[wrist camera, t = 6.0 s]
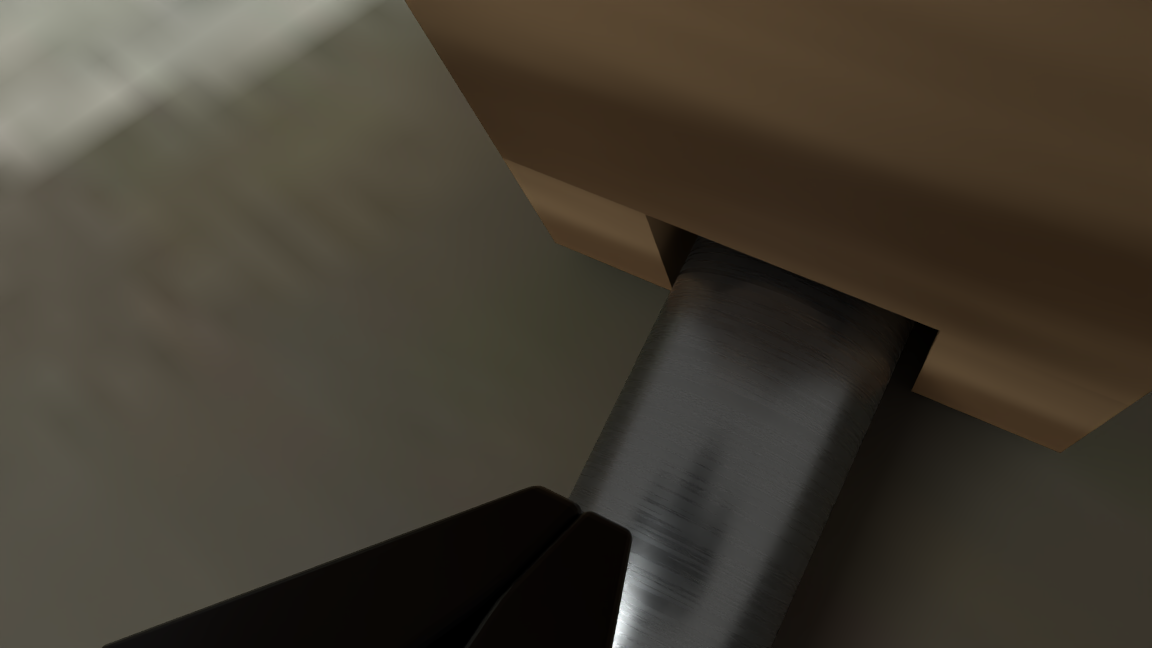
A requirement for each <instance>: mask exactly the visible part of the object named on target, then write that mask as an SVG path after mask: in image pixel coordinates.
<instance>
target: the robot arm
mask: <svg viewBox="0 0 1152 648" xmlns="http://www.w3.org/2000/svg"><path fill="white" fill-rule="evenodd" d="M631 545H632V533H631V532H630V530H628V529H627V528H625V527H623V526H621V525H619V524H617V523H615V522H613V521H611V520H609V519H607V518H605V517H603V516H601V515H599V514H597V513H595V512H592V511H588V512H584V513H583V511H582V509H581V508H580V506H579V505H578V504H577V503H575V502H573V501H571V500H569V499H567V498H565V497H563V496H561V495H559V494H557V493H555V492H553V491H551V490H549V489H547V488H545V487H542V486H531V487H528V488H525V489H522V490H520V491H517V492H514V493H512V494H509V495H506V496H504V497H501V498H498V499H496V500H493V501H490V502H488V503H485V504H482V505H480V506H477V507H474V508H471V509H469V510H466V511H463V512H461V513H458V514H455V515H453V516H450V517H447V518H445V519H442V520H439V521H437V522H434V523H431V524H429V525H426V526H423V527H420V528H418V529H415V530H412V531H410V532H407V533H404V534H402V535H399V536H396V537H394V538H391V539H388V540H386V541H383V542H380V543H378V544H375V545H372V546H369V547H367V548H364V549H361V550H359V551H356V552H353V553H351V554H348V555H345V556H343V557H340V558H337V559H335V560H332V561H329V562H326V563H324V564H321V565H318V566H316V567H313V568H310V569H308V570H305V571H302V572H300V573H297V574H294V575H292V576H289V577H286V578H284V579H281V580H278V581H275V582H273V583H270V584H267V585H265V586H262V587H259V588H257V589H254V590H251V591H249V592H246V593H243V594H241V595H238V596H235V597H233V598H230V599H227V600H224V601H222V602H219V603H216V604H214V605H211V606H208V607H206V608H203V609H200V610H198V611H195V612H192V613H190V614H187V615H184V616H182V617H179V618H176V619H173V620H171V621H168V622H165V623H163V624H160V625H157V626H155V627H152V628H149V629H147V630H144V631H141V632H139V633H136V634H133V635H131V636H128V637H125V638H122V639H120V640H117V641H114V642H112V643H109V644H106V645H104V646H103V647H102V648H612V647H613V642H614V636H615V631H616V626H617V620H618V615H619V609H620V604H621V599H622V593H623V588H624V583H625V577H626V572H627V567H628V561H629V556H630V551H631Z"/></svg>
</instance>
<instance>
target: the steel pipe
mask: <svg viewBox="0 0 1152 648" xmlns="http://www.w3.org/2000/svg"><path fill="white" fill-rule="evenodd" d="M915 322H916V321H914V320H912V319H909V318H907V317H904V316H901V315H899V314H896V313H894V312H891V311H889V310H886V309H884V308H881V307H879V306H876V305H874V304H871V303H869V302H866V301H863V300H861V299H858V298H856V297H853V296H851V295H848V294H846V293H843V292H841V291H838V290H836V289H833V288H831V287H828V286H826V285H823V284H820V283H818V282H815V281H813V280H810V279H808V278H805V277H803V276H800V275H798V274H795V273H793V272H790V271H788V270H785V269H783V268H780V267H777V266H775V265H772V264H770V263H767V262H765V261H762V260H760V259H757V258H755V257H752V256H750V255H747V254H745V253H742V252H739V251H737V250H734V249H732V248H729V247H727V246H724V245H722V244H719V243H717V242H714V241H712V240H709V239H707V238H704V237H702V236H699V235H698V237H697V239H696V241H695V243H694V245H693V247H692V249H691V251H690V253H689V255H688V257H687V259H686V261H685V263H684V265H683V267H682V269H681V271H680V273H679V275H678V277H677V279H676V281H675V283H674V285H673V287H672V289H671V291H670V293H669V296H668V298H667V300H666V302H665V304H664V306H663V308H662V310H661V312H660V314H659V316H658V318H657V320H656V322H655V324H654V326H653V328H652V330H651V332H650V334H649V336H648V338H647V340H646V342H645V344H644V346H643V348H642V350H641V352H640V354H639V356H638V359H637V361H636V363H635V365H634V367H633V369H632V371H631V373H630V375H629V377H628V379H627V381H626V383H625V385H624V387H623V389H622V391H621V393H620V395H619V397H618V399H617V401H616V403H615V405H614V407H613V409H612V411H611V413H610V415H609V417H608V419H607V421H606V424H605V426H604V428H603V430H602V432H601V434H600V436H599V438H598V440H597V442H596V444H595V446H594V448H593V450H592V452H591V454H590V456H589V458H588V460H587V462H586V464H585V466H584V468H583V470H582V472H581V474H580V476H579V478H578V480H577V482H576V484H575V487H574V489H573V491H572V493H571V495H570V497H569V500H571V501H573V502H575V503H577V504H578V505H579V506H580V508H581V509H582V511H583V513H584V512H588V511H592V512H595V513H597V514H599V515H601V516H603V517H605V518H607V519H609V520H611V521H613V522H615V523H617V524H619V525H621V526H623V527H625V528H627V529H628V530H630V532H631V533H632V545H631V551H630V556H629V561H628V567H627V572H626V577H625V583H624V588H623V593H622V599H621V604H620V609H619V615H618V620H617V626H616V631H615V636H614V642H613V647H612V648H771V646H772V643H773V641H774V639H775V637H776V634H777V632H778V630H779V628H780V625H781V623H782V621H783V619H784V616H785V614H786V612H787V610H788V607H789V605H790V603H791V601H792V598H793V596H794V594H795V592H796V589H797V587H798V585H799V583H800V580H801V578H802V576H803V574H804V571H805V569H806V567H807V565H808V562H809V560H810V558H811V556H812V553H813V551H814V549H815V547H816V544H817V542H818V540H819V538H820V535H821V533H822V531H823V529H824V526H825V524H826V522H827V520H828V517H829V515H830V513H831V511H832V508H833V506H834V504H835V502H836V499H837V497H838V495H839V493H840V490H841V488H842V486H843V484H844V481H845V479H846V477H847V475H848V472H849V470H850V468H851V466H852V463H853V461H854V459H855V457H856V454H857V452H858V450H859V448H860V445H861V443H862V441H863V439H864V436H865V434H866V432H867V430H868V427H869V425H870V423H871V421H872V418H873V416H874V414H875V412H876V409H877V407H878V405H879V403H880V400H881V398H882V396H883V394H884V391H885V389H886V387H887V385H888V382H889V380H890V378H891V376H892V373H893V371H894V369H895V367H896V364H897V362H898V360H899V358H900V355H901V353H902V351H903V349H904V346H905V344H906V342H907V340H908V337H909V335H910V333H911V331H912V328H913V326H914V324H915Z"/></svg>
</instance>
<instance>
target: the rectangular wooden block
mask: <svg viewBox="0 0 1152 648" xmlns="http://www.w3.org/2000/svg"><path fill="white" fill-rule="evenodd" d="M405 2H406V3H407V5H408V7H409V8H410V10H411V11H412V13H413V15H414V16H415V18H416V19H417V21H418V23H419V24H420V26H421V27H422V29H423V31H424V32H425V34H426V36H427V37H428V39H429V40H430V42H431V44H432V45H433V47H434V48H435V50H436V52H437V53H438V55H439V56H440V58H441V60H442V61H443V63H444V64H445V66H446V68H447V69H448V71H449V72H450V74H451V76H452V77H453V79H454V81H455V82H456V84H457V85H458V87H459V89H460V90H461V92H462V93H463V95H464V97H465V98H466V100H467V101H468V103H469V105H470V106H471V108H472V109H473V111H474V113H475V114H476V116H477V118H478V119H479V121H480V122H481V124H482V126H483V127H484V129H485V130H486V132H487V134H488V135H489V137H490V138H491V140H492V142H493V143H494V145H495V146H496V148H497V150H498V151H499V153H500V154H501V156H502V158H503V159H504V161H505V163H506V164H507V166H508V167H509V169H510V171H511V172H512V174H513V175H514V177H515V179H516V180H517V182H518V183H519V185H520V187H521V188H522V190H523V191H524V193H525V195H526V196H527V198H528V200H529V201H530V203H531V204H532V206H533V208H534V209H535V211H536V212H537V214H538V216H539V217H540V219H541V220H542V222H543V224H544V225H545V227H546V228H547V230H548V232H549V233H550V235H551V237H552V238H553V240H554V241H555V243H558V244H560V245H562V246H565V247H567V248H570V249H572V250H574V251H577V252H579V253H582V254H584V255H586V256H589V257H591V258H594V259H596V260H598V261H601V262H603V263H606V264H608V265H610V266H613V267H615V268H618V269H620V270H622V271H625V272H627V273H630V274H632V275H634V276H637V277H639V278H642V279H644V280H646V281H649V282H651V283H654V284H656V285H658V286H661V287H663V288H666V289H668V290H670V291H671V289H672V287H673V285H674V283H675V281H676V279H677V277H678V275H679V273H680V271H681V269H682V267H683V265H684V263H685V261H686V259H687V257H688V255H689V253H690V251H691V249H692V247H693V245H694V243H695V241H696V239H697V237H698V235H699V236H702V237H704V238H707V239H709V240H712V241H714V242H717V243H719V244H722V245H724V246H727V247H729V248H732V249H734V250H737V251H739V252H742V253H745V254H747V255H750V256H752V257H755V258H757V259H760V260H762V261H765V262H767V263H770V264H772V265H775V266H777V267H780V268H783V269H785V270H788V271H790V272H793V273H795V274H798V275H800V276H803V277H805V278H808V279H810V280H813V281H815V282H818V283H820V284H823V285H826V286H828V287H831V288H833V289H836V290H838V291H841V292H843V293H846V294H848V295H851V296H853V297H856V298H858V299H861V300H863V301H866V302H869V303H871V304H874V305H876V306H879V307H881V308H884V309H886V310H889V311H891V312H894V313H896V314H899V315H901V316H904V317H907V318H909V319H912V320H914V321H917V322H919V323H922V324H924V325H927V326H929V327H932V328H934V329H937V330H938V332H937V334H936V336H935V338H934V341H933V343H932V345H931V347H930V350H929V352H928V354H927V357H926V359H925V361H924V363H923V366H922V368H921V370H920V372H919V375H918V377H917V379H916V382H915V384H914V386H913V388H912V391H913V392H915V393H917V394H920V395H922V396H925V397H927V398H929V399H932V400H934V401H937V402H939V403H941V404H944V405H946V406H949V407H951V408H953V409H956V410H958V411H961V412H963V413H965V414H968V415H970V416H973V417H975V418H977V419H980V420H982V421H985V422H987V423H989V424H992V425H994V426H997V427H999V428H1001V429H1004V430H1006V431H1009V432H1011V433H1013V434H1016V435H1018V436H1021V437H1023V438H1025V439H1028V440H1030V441H1033V442H1035V443H1037V444H1040V445H1042V446H1045V447H1047V448H1049V449H1052V450H1054V451H1057V452H1059V453H1061V452H1062V451H1064V450H1065V449H1067V448H1068V447H1070V446H1071V445H1073V444H1074V443H1076V442H1077V441H1079V440H1080V439H1081V438H1083V437H1084V436H1086V435H1087V434H1089V433H1090V432H1092V431H1093V430H1095V429H1096V428H1098V427H1099V426H1101V425H1102V424H1104V423H1105V422H1106V421H1108V420H1109V419H1111V418H1112V417H1114V416H1115V415H1117V414H1118V413H1120V412H1121V411H1123V410H1124V409H1126V408H1127V407H1129V406H1130V405H1131V404H1133V403H1134V402H1136V401H1137V400H1139V399H1140V398H1142V397H1143V396H1145V395H1146V394H1148V393H1149V392H1151V391H1152V0H405Z"/></svg>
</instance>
